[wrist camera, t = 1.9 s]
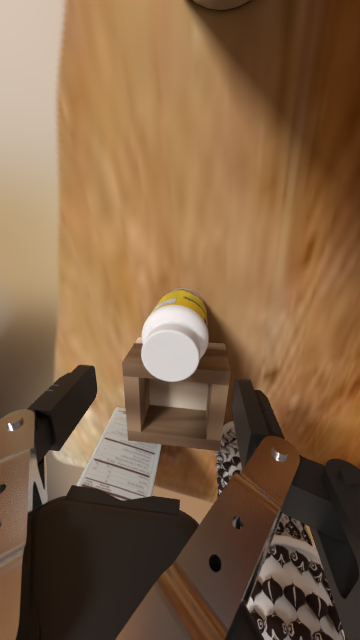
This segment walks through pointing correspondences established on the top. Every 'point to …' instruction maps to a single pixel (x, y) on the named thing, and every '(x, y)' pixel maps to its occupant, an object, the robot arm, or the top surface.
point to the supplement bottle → (175, 336)
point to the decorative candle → (285, 572)
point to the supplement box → (121, 463)
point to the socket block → (177, 401)
